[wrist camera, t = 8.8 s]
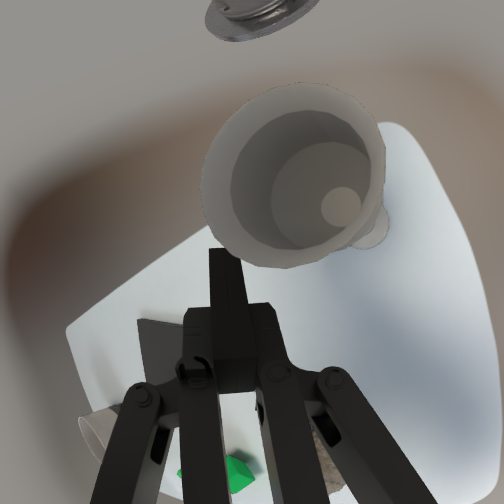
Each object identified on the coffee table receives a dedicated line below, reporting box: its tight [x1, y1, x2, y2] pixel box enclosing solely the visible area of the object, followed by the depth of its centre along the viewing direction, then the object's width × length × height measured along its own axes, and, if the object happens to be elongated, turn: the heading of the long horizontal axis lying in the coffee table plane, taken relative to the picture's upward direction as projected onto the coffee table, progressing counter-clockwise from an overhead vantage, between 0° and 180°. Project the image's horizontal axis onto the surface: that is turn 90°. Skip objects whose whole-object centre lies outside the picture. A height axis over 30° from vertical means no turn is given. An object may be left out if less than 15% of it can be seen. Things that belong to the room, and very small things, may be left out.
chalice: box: [200, 82, 389, 269], centre depth 17 cm, size 7×7×18 cm
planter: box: [79, 405, 121, 464], centre depth 42 cm, size 13×13×10 cm
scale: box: [137, 319, 183, 386], centre depth 37 cm, size 14×13×3 cm
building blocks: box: [177, 455, 255, 494], centre depth 30 cm, size 8×8×12 cm
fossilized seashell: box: [312, 431, 346, 495], centre depth 24 cm, size 11×11×7 cm
